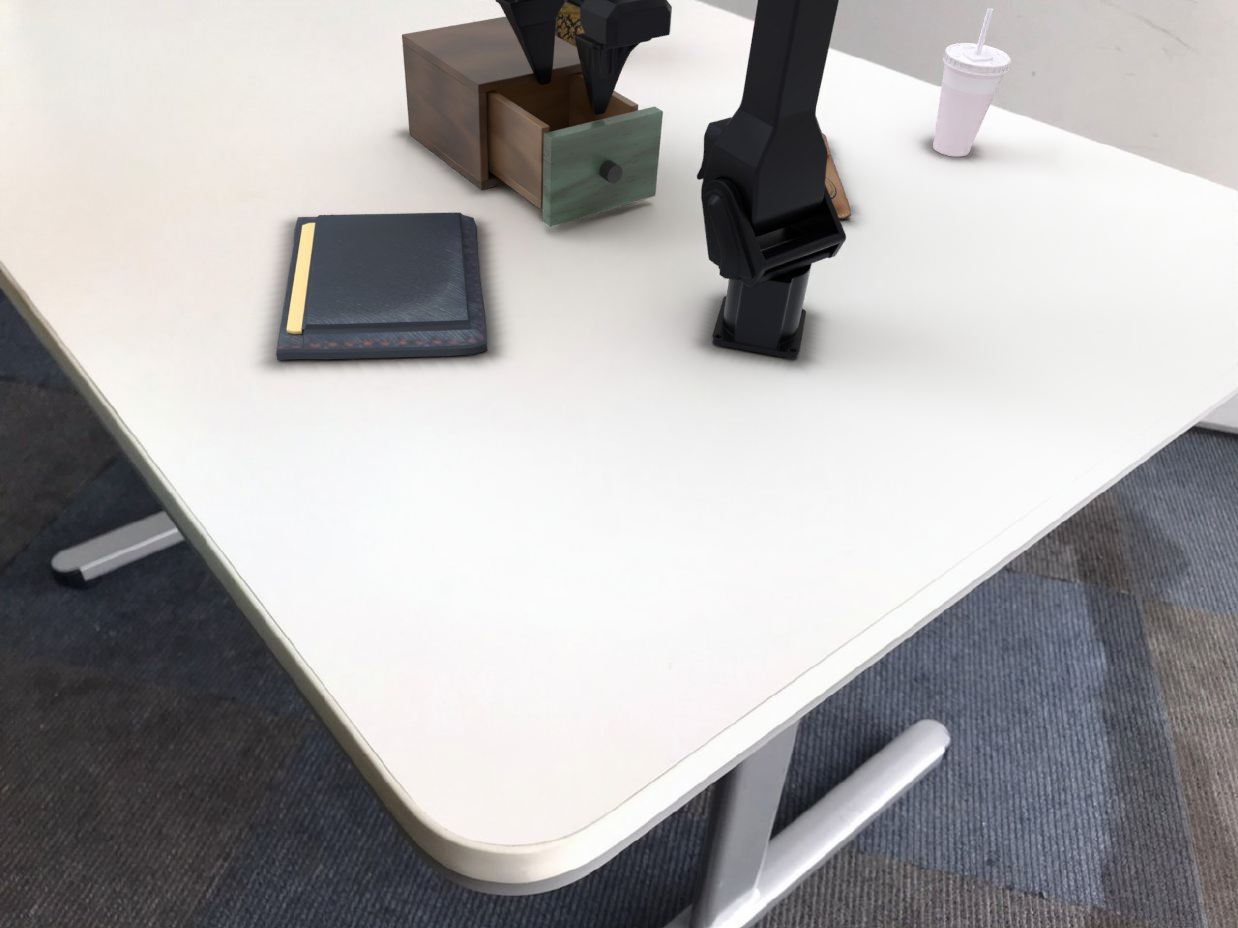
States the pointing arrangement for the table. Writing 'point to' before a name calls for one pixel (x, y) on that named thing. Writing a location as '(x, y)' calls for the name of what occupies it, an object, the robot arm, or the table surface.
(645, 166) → the drawer
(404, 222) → the wallet
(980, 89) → the smoothie
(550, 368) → the table surface
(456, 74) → the cabinet
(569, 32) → the ceramic cup
